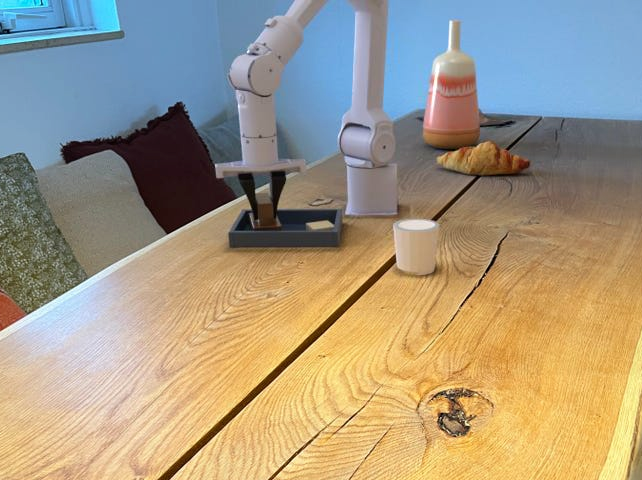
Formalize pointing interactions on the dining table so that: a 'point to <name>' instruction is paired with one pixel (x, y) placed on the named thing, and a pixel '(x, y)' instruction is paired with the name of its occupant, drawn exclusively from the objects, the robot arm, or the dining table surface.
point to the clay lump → (320, 226)
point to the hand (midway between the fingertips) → (264, 217)
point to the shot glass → (416, 245)
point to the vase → (452, 98)
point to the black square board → (484, 119)
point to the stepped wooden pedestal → (264, 215)
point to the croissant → (483, 160)
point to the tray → (288, 230)
